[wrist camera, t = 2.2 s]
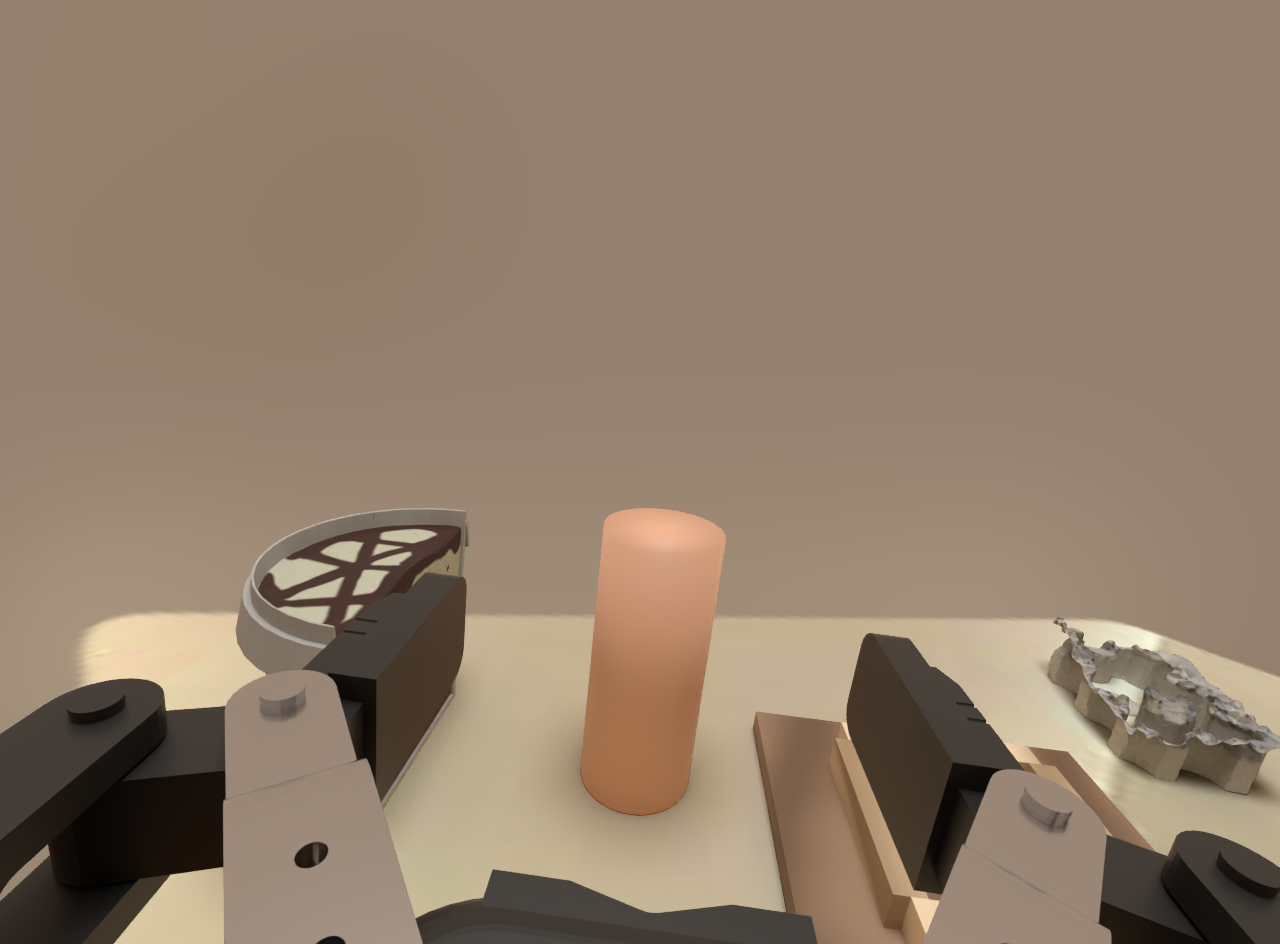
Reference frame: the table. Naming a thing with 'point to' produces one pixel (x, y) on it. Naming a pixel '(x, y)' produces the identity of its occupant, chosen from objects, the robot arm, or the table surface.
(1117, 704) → the egg carton
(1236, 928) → the robot arm
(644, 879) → the table surface
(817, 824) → the board
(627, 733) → the terracotta pin
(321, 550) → the food container
